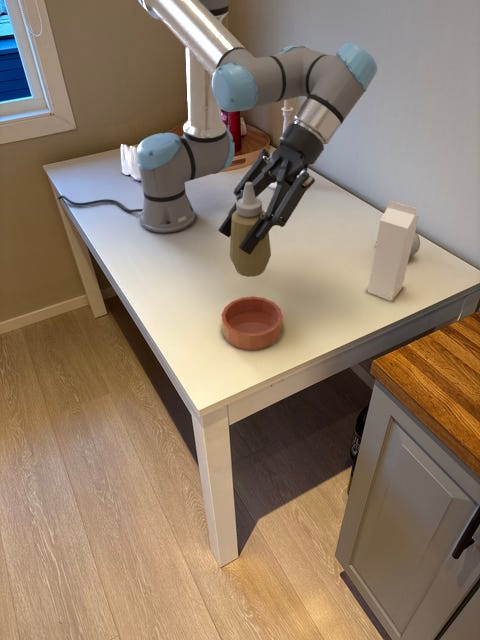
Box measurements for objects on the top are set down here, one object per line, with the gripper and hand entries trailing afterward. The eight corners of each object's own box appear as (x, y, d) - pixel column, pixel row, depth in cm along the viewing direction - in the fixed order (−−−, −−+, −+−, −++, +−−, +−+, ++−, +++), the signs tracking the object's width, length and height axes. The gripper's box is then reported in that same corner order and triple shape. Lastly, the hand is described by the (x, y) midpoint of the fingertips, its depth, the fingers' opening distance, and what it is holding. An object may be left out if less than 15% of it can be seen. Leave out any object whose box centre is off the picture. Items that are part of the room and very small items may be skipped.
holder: (210, 333, 103) (209, 319, 101) (246, 303, 111) (246, 289, 108) (258, 358, 97) (258, 344, 95) (292, 324, 105) (293, 310, 102)
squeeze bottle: (267, 283, 92) (268, 195, 80) (226, 279, 93) (220, 192, 82) (273, 259, 98) (275, 174, 86) (234, 256, 99) (230, 172, 87)
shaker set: (149, 180, 161) (144, 147, 154) (138, 184, 159) (133, 151, 152) (132, 169, 169) (126, 137, 161) (121, 173, 167) (115, 140, 159)
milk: (378, 280, 116) (394, 194, 102) (402, 288, 113) (422, 202, 99) (366, 292, 112) (382, 206, 98) (391, 301, 110) (411, 214, 95)
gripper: (356, 163, 81) (276, 274, 86) (287, 130, 94) (219, 228, 98) (335, 138, 76) (250, 259, 80) (264, 107, 89) (194, 212, 93)
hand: (233, 242), depth 89 cm, fingers closed on squeeze bottle, 6 cm apart
